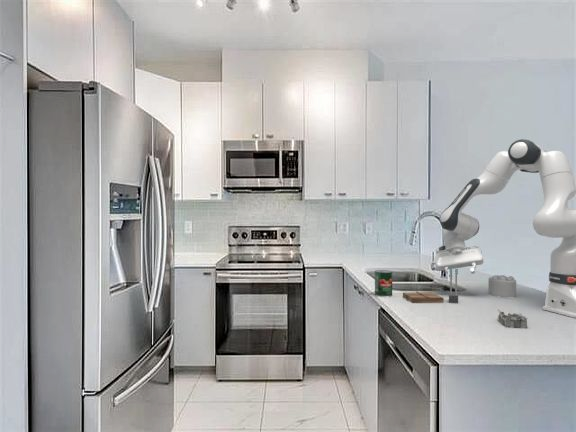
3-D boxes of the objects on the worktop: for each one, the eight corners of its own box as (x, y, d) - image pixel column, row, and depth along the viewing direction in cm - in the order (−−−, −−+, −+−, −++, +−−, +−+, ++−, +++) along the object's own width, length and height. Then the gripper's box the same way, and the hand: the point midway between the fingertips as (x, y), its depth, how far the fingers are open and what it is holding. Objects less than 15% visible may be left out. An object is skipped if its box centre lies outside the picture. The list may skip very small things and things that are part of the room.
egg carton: (496, 320, 156) (496, 309, 156) (519, 321, 155) (519, 310, 155) (504, 328, 146) (504, 315, 146) (529, 329, 144) (529, 316, 144)
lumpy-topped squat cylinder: (508, 292, 209) (508, 274, 209) (521, 298, 196) (521, 278, 196) (485, 292, 210) (485, 274, 210) (497, 297, 197) (497, 278, 197)
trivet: (443, 302, 185) (443, 297, 185) (413, 303, 185) (413, 297, 184) (431, 296, 198) (431, 291, 198) (402, 297, 197) (402, 291, 197)
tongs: (458, 303, 184) (458, 269, 184) (448, 302, 185) (449, 269, 185) (457, 301, 187) (458, 268, 187) (448, 301, 188) (449, 268, 188)
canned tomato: (382, 292, 208) (382, 269, 208) (396, 295, 201) (396, 271, 201) (371, 294, 203) (371, 270, 203) (384, 297, 197) (384, 272, 196)
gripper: (480, 250, 204) (487, 274, 194) (434, 257, 210) (439, 281, 200) (479, 241, 199) (486, 266, 190) (432, 249, 206) (437, 273, 196)
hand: (461, 274), depth 195 cm, fingers open, 8 cm apart
